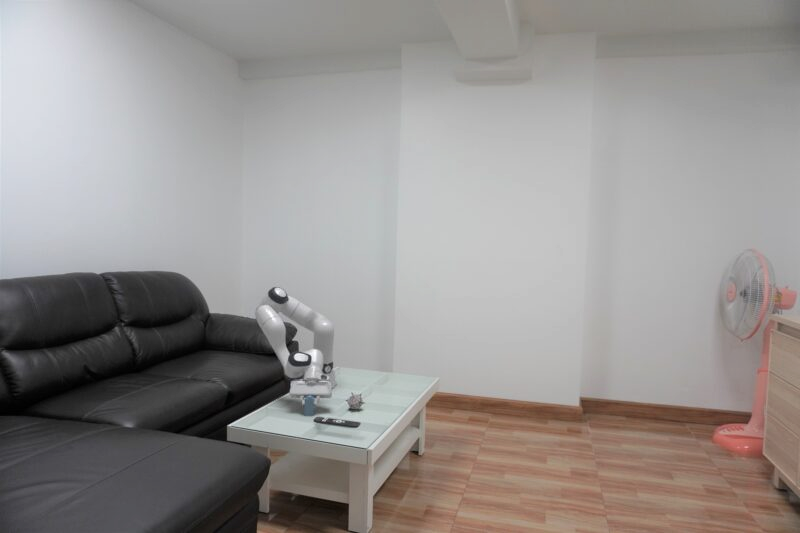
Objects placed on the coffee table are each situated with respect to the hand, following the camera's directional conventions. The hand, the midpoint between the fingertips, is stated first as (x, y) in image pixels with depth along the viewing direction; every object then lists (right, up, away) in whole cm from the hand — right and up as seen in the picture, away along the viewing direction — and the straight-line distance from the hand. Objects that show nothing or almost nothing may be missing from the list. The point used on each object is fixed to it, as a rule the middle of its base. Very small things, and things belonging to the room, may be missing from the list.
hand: (309, 405), depth 259 cm
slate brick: (0, -5, +1) cm, 5 cm away
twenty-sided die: (+21, -5, +10) cm, 24 cm away
